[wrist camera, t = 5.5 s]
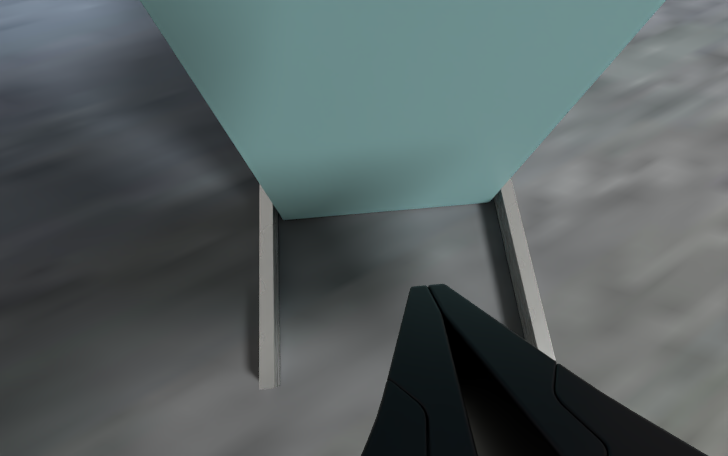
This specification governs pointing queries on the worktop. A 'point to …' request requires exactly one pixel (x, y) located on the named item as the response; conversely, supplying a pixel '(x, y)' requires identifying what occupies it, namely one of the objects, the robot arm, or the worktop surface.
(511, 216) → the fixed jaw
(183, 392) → the worktop surface
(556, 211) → the worktop surface
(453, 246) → the worktop surface
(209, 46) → the block
